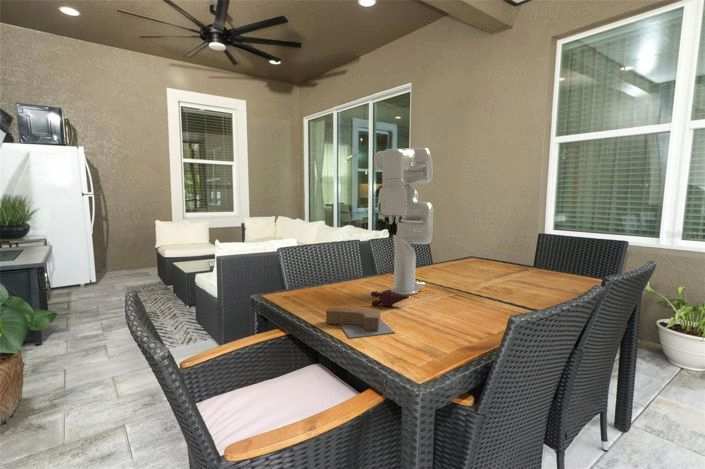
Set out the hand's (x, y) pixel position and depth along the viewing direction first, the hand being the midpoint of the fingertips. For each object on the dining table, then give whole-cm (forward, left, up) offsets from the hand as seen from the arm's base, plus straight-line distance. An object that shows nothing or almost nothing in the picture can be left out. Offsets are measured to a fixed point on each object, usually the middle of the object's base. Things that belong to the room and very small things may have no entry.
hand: (392, 234), depth 131 cm
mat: (+15, +9, -29) cm, 34 cm away
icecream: (-2, -7, -30) cm, 31 cm away
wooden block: (+10, +14, -27) cm, 32 cm away
